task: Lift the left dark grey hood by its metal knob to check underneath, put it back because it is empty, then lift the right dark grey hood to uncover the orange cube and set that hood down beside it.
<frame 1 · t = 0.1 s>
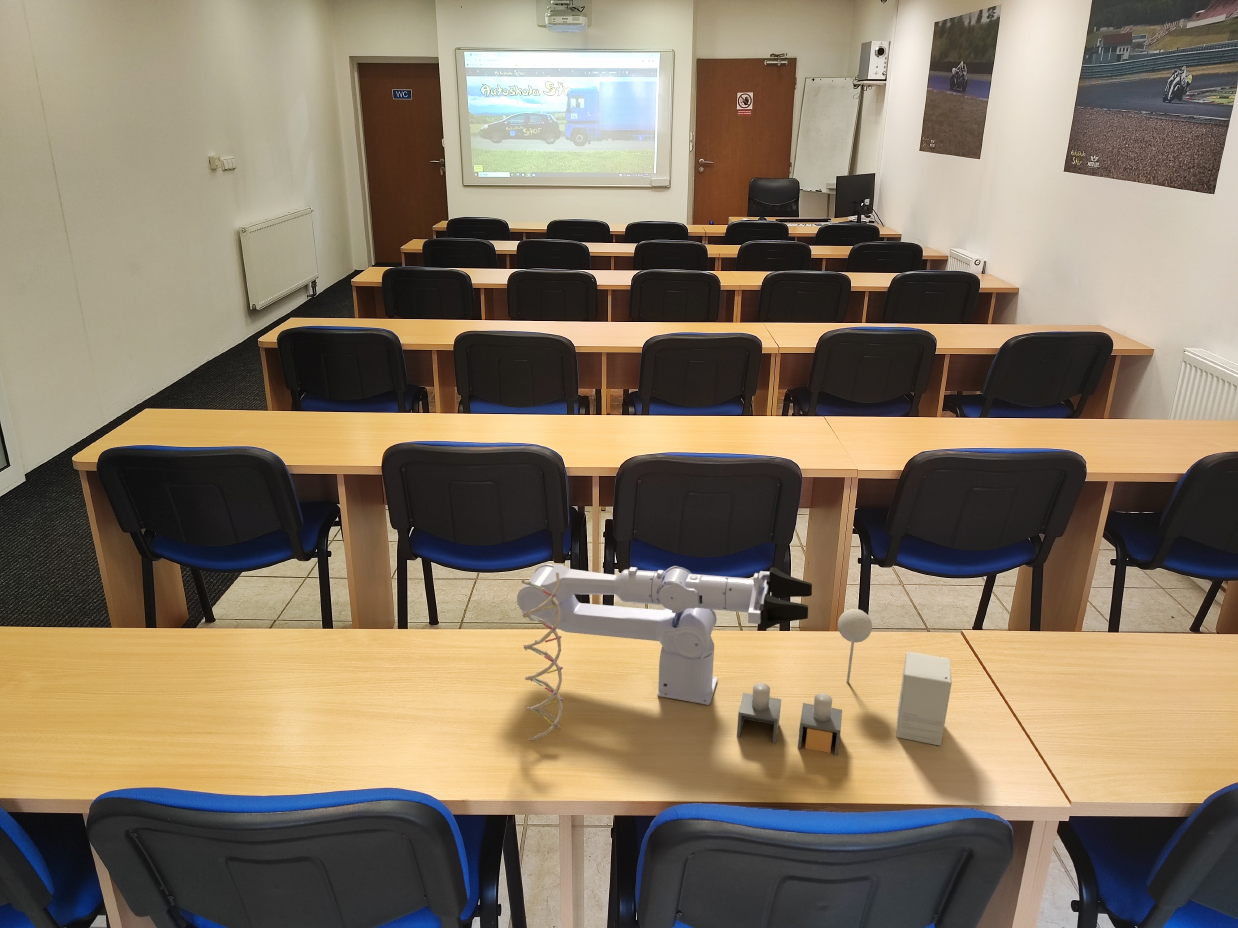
hand: (810, 600, 146), 22 cm above the table, tool horizontal, fingers open, 7 cm apart
cube: (818, 742, 146), on the table
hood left: (758, 729, 149), on the table
dna model: (545, 734, 147), on the table
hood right: (818, 740, 146), on the table
lollipop: (847, 683, 161), on the table
supplement box: (918, 729, 149), on the table
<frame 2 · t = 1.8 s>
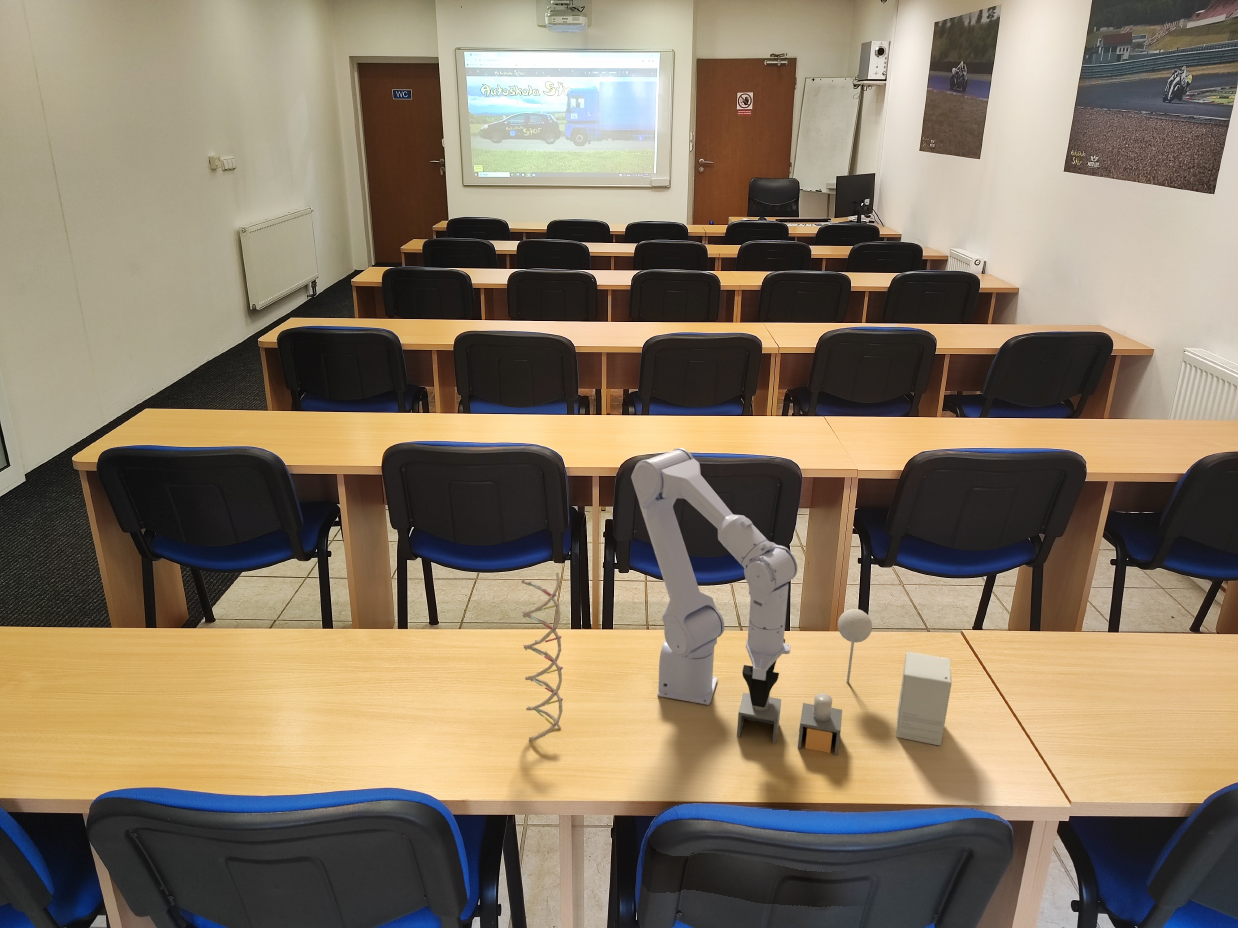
hand: (761, 691, 146), 8 cm above the table, tool pointing down, fingers open, 7 cm apart
nothing on the table moved.
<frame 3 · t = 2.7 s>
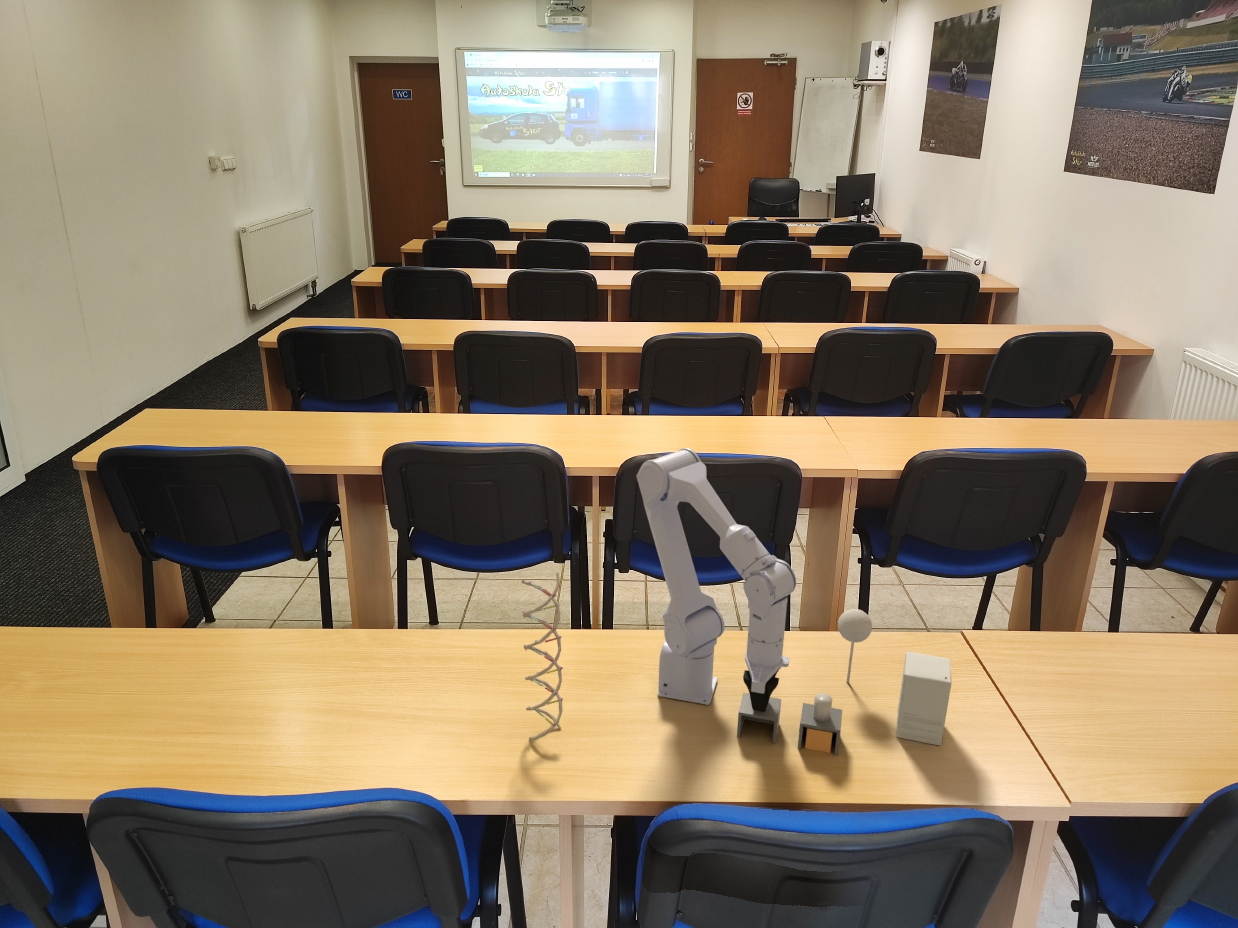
hand: (760, 703, 147), 5 cm above the table, tool pointing down, fingers closed on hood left, 3 cm apart
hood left: (758, 729, 149), on the table, touching gripper
everything else where it was.
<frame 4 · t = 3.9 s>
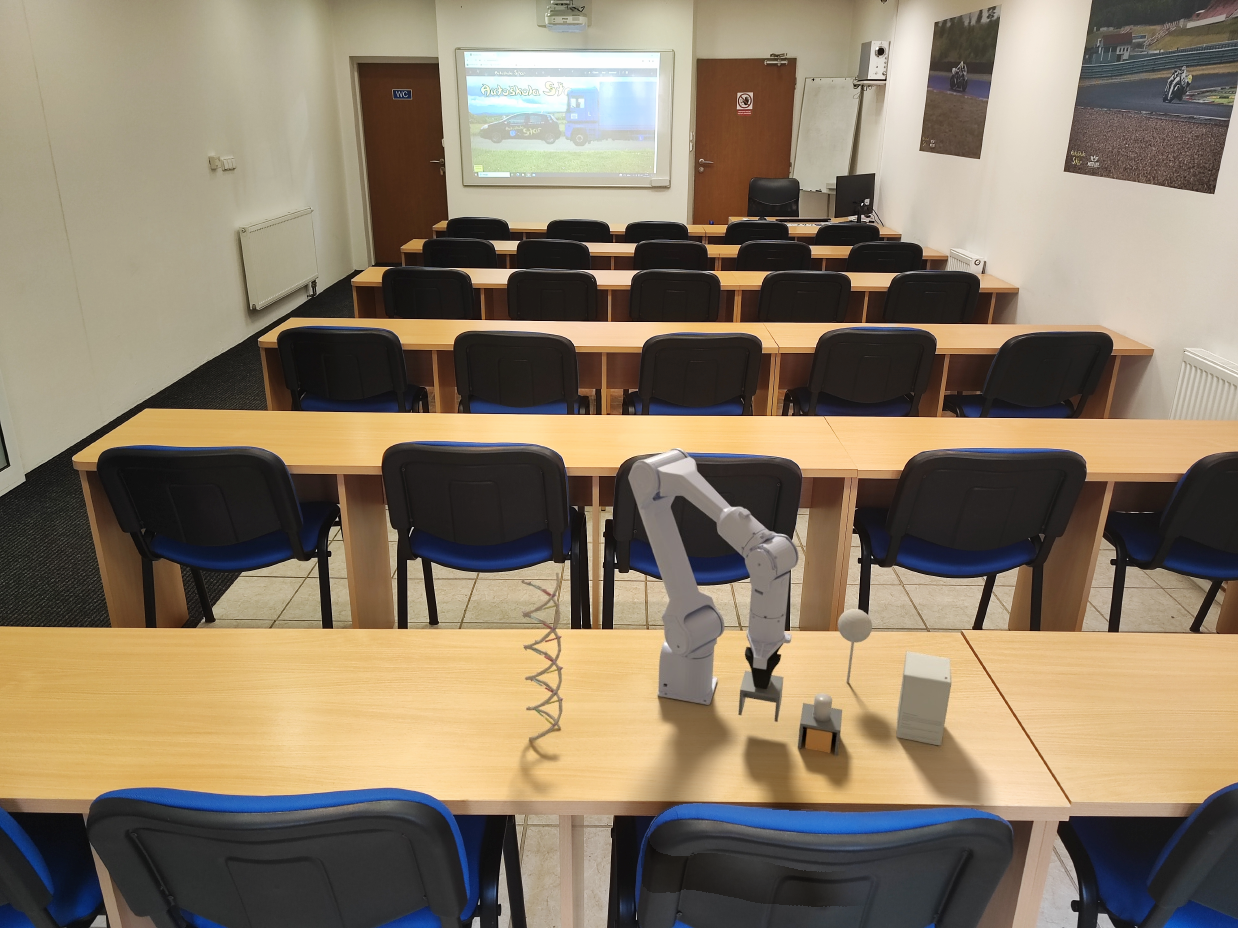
hand: (762, 680, 145), 10 cm above the table, tool pointing down, fingers closed on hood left, 3 cm apart
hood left: (760, 708, 147), point 4 cm above the table, touching gripper
everything else where it was.
when the fingers open (7 cm above the table, at t = 4.9 s): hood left drops 1 cm, on the table.
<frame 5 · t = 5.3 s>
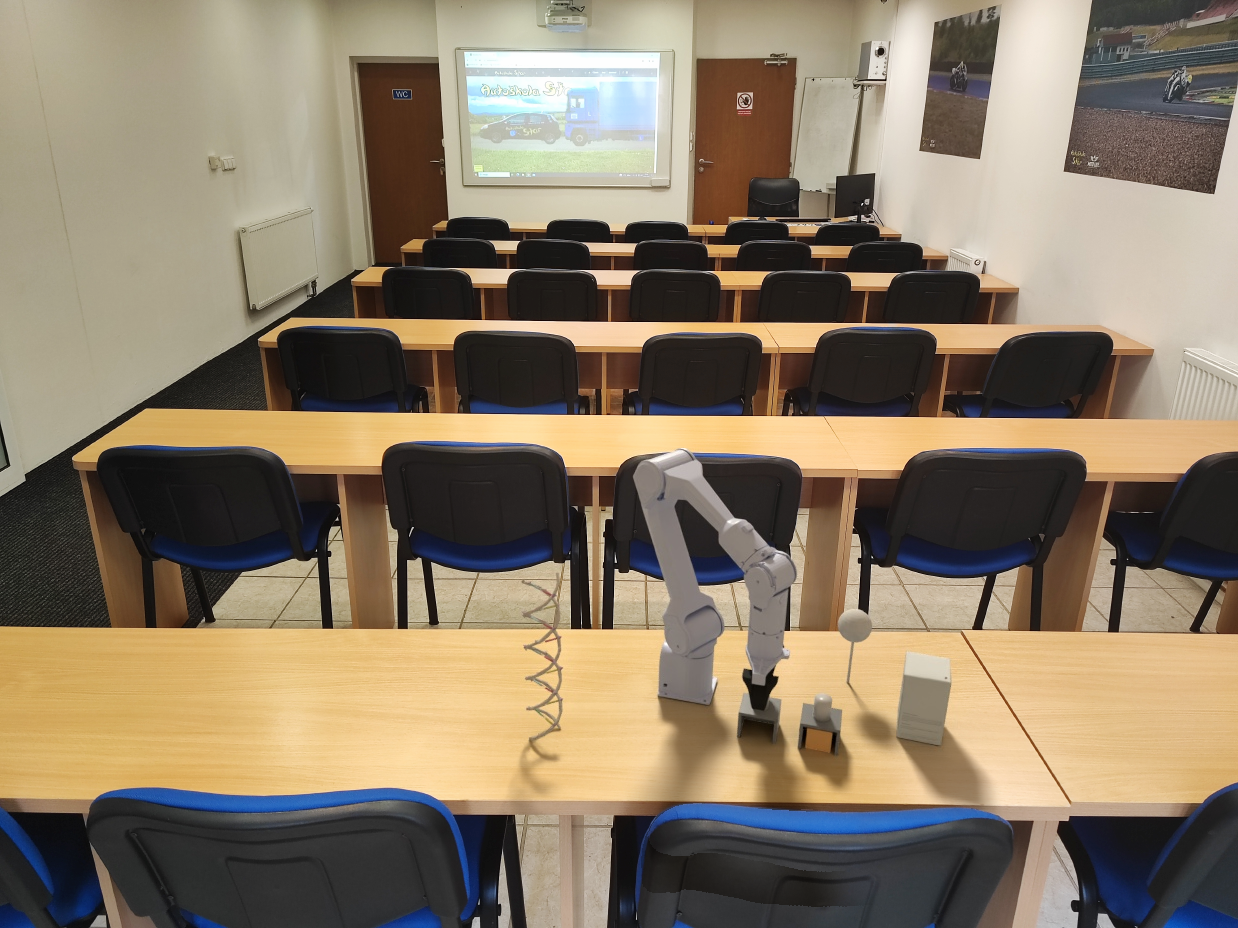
hand: (760, 695, 146), 7 cm above the table, tool pointing down, fingers open, 6 cm apart
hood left: (758, 729, 149), on the table
everything else where it was.
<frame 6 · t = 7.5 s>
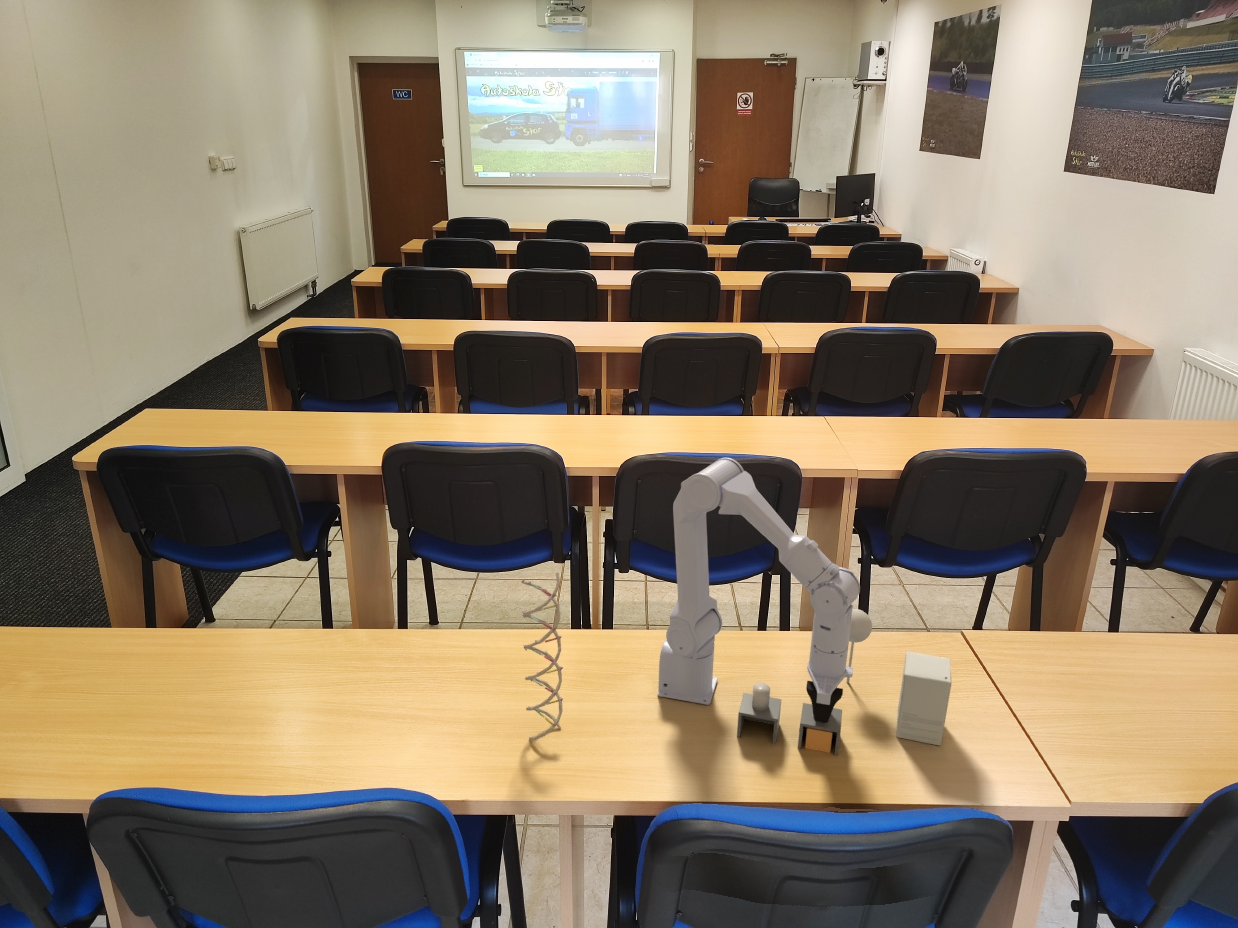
hand: (821, 714, 144), 5 cm above the table, tool pointing down, fingers closed on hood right, 3 cm apart
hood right: (818, 740, 146), on the table, touching gripper
everything else where it was.
when the fingers open (7 cm above the table, at t = 10.7 s): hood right drops 1 cm, on the table.
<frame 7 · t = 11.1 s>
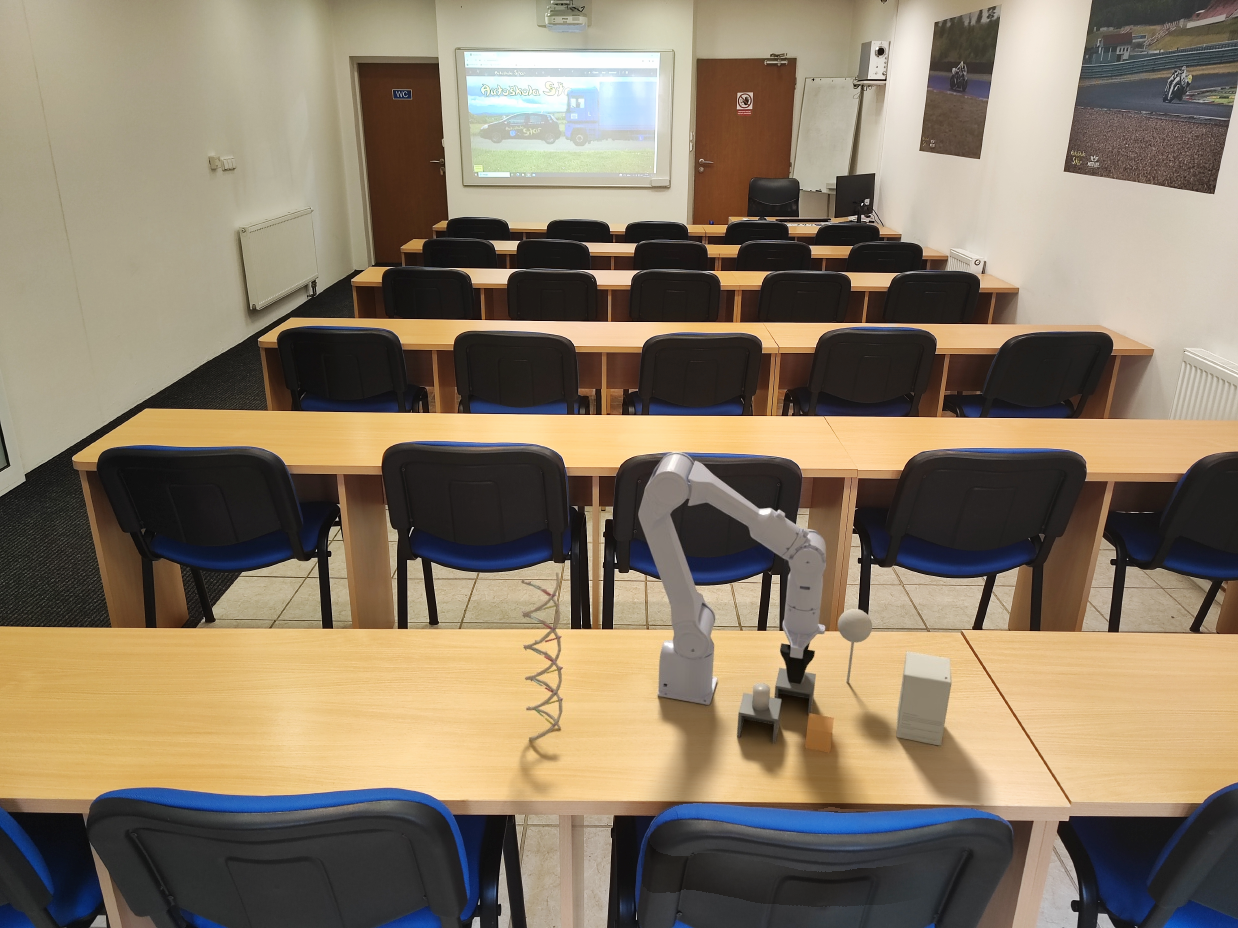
hand: (796, 670, 153), 7 cm above the table, tool pointing down, fingers open, 6 cm apart
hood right: (793, 703, 155), on the table
everything else where it was.
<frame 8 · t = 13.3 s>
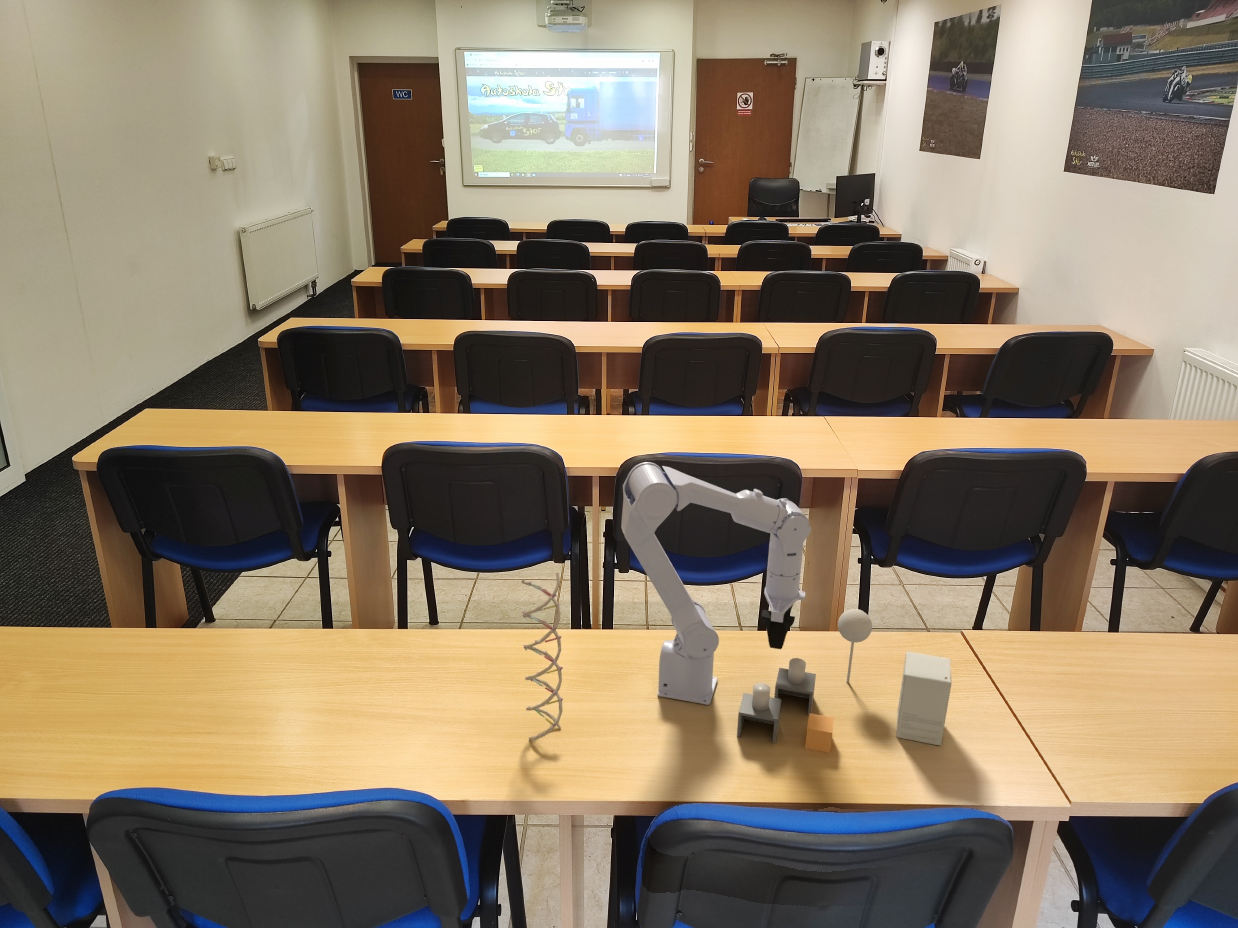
hand: (778, 635, 158), 9 cm above the table, tool pointing down, fingers open, 7 cm apart
nothing on the table moved.
at the end: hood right 0.1 cm from the target spot, on the table; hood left moved 0.0 cm from its start; cube touching table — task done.
